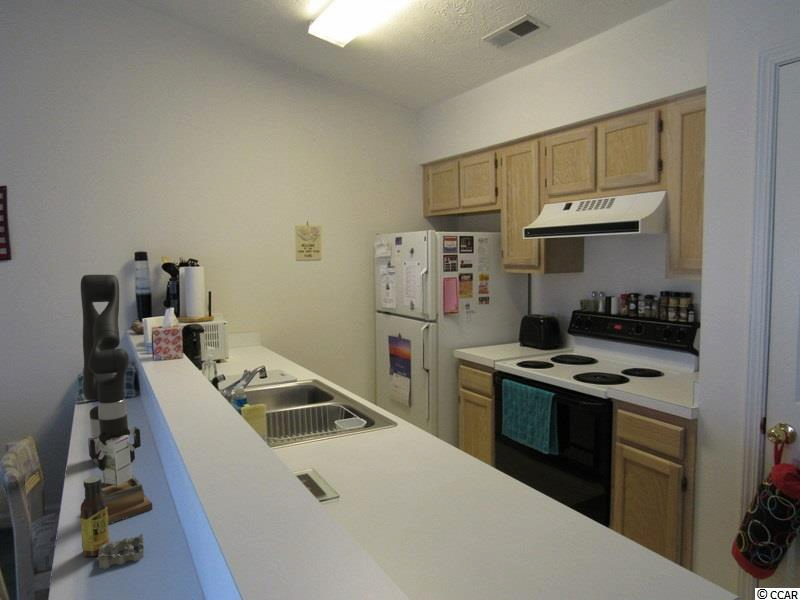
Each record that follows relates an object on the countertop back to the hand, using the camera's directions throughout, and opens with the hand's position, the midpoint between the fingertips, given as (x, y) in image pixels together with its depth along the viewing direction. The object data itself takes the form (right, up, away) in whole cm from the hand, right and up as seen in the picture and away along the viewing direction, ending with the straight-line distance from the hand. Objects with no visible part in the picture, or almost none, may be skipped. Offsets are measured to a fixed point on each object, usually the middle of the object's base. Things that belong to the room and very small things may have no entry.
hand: (116, 465), depth 158 cm
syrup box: (0, -5, +1) cm, 5 cm away
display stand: (0, -14, +2) cm, 14 cm away
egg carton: (+14, -17, -23) cm, 32 cm away
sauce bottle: (+6, -16, -20) cm, 27 cm away
